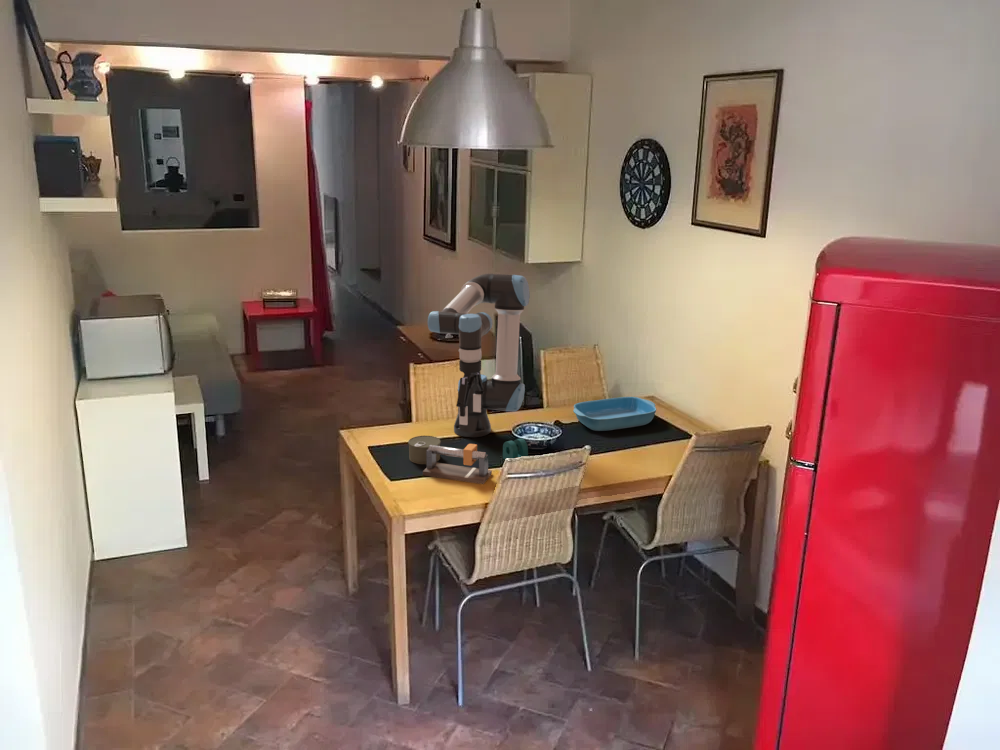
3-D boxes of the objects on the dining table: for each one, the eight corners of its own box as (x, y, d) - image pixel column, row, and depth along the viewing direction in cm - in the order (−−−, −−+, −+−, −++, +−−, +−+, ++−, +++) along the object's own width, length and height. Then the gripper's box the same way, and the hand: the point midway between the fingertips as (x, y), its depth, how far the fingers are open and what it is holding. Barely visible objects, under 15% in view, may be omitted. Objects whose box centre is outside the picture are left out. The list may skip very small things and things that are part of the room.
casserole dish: (587, 436, 335) (587, 420, 333) (563, 418, 355) (564, 403, 353) (665, 426, 348) (666, 409, 346) (638, 409, 368) (639, 394, 366)
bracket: (502, 458, 312) (503, 439, 310) (517, 455, 316) (517, 435, 314) (529, 475, 298) (530, 455, 296) (545, 471, 301) (545, 451, 299)
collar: (469, 458, 297) (469, 443, 295) (477, 459, 296) (477, 444, 295) (463, 464, 292) (463, 449, 290) (471, 465, 291) (471, 450, 289)
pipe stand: (432, 465, 305) (432, 440, 302) (491, 474, 298) (491, 448, 295) (422, 475, 297) (422, 448, 294) (483, 484, 290) (483, 457, 287)
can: (446, 456, 314) (446, 439, 312) (428, 467, 304) (428, 449, 302) (421, 449, 320) (420, 433, 318) (402, 460, 310) (401, 443, 308)
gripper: (472, 349, 295) (472, 405, 302) (446, 368, 273) (447, 428, 279) (492, 351, 293) (492, 407, 299) (467, 370, 271) (468, 431, 277)
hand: (470, 418), depth 289 cm, fingers open, 13 cm apart
